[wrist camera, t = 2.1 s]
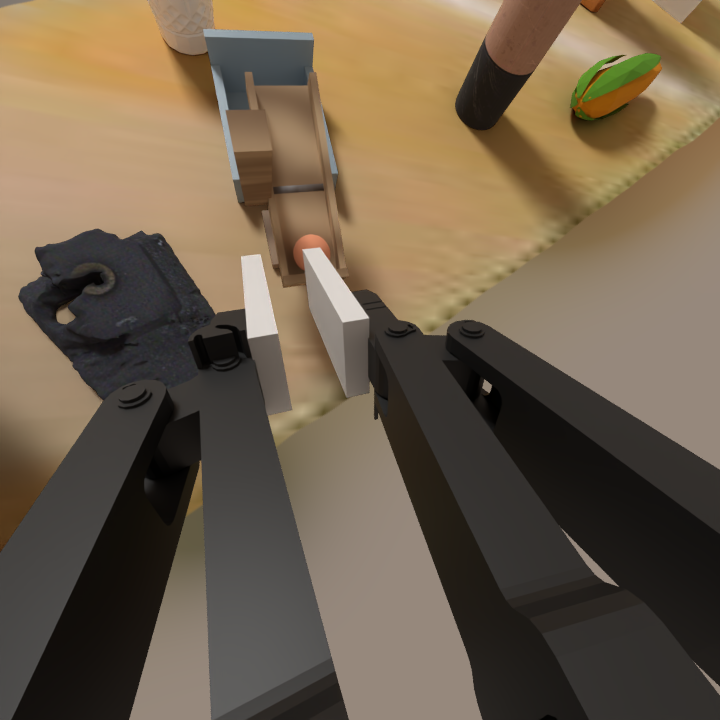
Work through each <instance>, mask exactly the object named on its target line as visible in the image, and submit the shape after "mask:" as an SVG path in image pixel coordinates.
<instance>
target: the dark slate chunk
mask: <svg viewBox="0 0 720 720" xmlns="http://www.w3.org/2000/svg"><path fill="white" fill-rule="evenodd" d="M35 254H36V257H37V260H38V261H39V263H40V265H41V268H42V272H41V275H42V277H39V278H38V279H37V280H36V281H34V282H31V283H29V284H28V285H27V286H25V287H23V288H21V290H20V293H19V296H18V297H19V300H20V302H21V303H23V306H24V309H25V311H26V312H27V314H28V315H29V316H30V317H32V318H33V319H34V321H35V322H36V323H37V324H38V325H39V327H40V328H41V329H42V331H43V332H44V333H45V334H46V335H47V336H48V337H49V338H50V339H51V340H52V341H53V342H54V343H55V344H56V345H57V346H58V347H59V349H60V350H61V351H62V352H63V353H64V354H65V355H67V356H68V357H69V359H70V361H72V362H73V368H74V369H75V370H77V371H78V372H79V374H80V376H81V378H82V379H83V380H84V381H85V382H86V384H87V385H89V386H90V387H92V388H93V389H94V390H96V392H97V394H98V396H100V397H101V398H102V399H103V400H105V399H106V398H107V397H108V396H109V395H110V394H111V393H112V392H114V391H116V390H117V389H119V388H120V387H122V386H124V385H126V384H129V383H132V382H136V381H141V380H157V381H160V382H162V383H163V384H164V385H165V387H166V388H167V389H170V388H172V387H175V386H178V385H180V384H183V383H185V382H187V381H189V380H191V379H193V378H194V377H196V376H197V375H198V368H197V365H196V363H195V360H194V357H193V355H192V352H191V349H190V347H189V344H188V339H189V337H190V335H192V334H193V333H194V332H195V331H196V330H198V329H200V328H202V327H204V326H207V325H210V324H211V320H212V319H213V318H214V317H215V313H214V311H213V309H212V307H210V305H209V304H208V301H207V300H206V299H205V298H204V297H203V295H201V293H200V290H199V289H198V288H197V286H196V285H195V283H194V281H193V280H192V279H191V277H190V276H189V275H188V273H187V271H186V270H185V268H184V267H183V266H182V264H181V263H180V262H179V260H178V258H177V257H176V255H175V254H174V252H173V250H172V248H171V247H170V245H169V244H168V243H167V242H166V240H165V238H164V237H163V236H162V235H161V234H159V233H156V234H153V235H146V234H145V233H144V232H143V231H140V232H138V233H136V234H134V235H132V236H130V237H128V238H125V239H119V238H118V237H117V236H116V235H115V234H110V233H106V232H104V231H102V230H100V229H94V230H90V231H86V232H83V233H81V234H79V235H77V236H75V237H73V238H71V239H69V240H67V241H64V242H61V243H57V244H47V245H46V246H44V247H36V248H35ZM73 299H75V300H74V301H72V302H71V303H70V304H69V305H68V309H69V310H70V311H71V312H72V313H73V314H74V315H75V316H76V318H75V319H74V320H73V321H71V322H69V323H68V324H67V325H66V324H60V323H59V322H58V321H57V319H56V311H57V310H58V309H59V307H60V306H62V305H64V304H67V302H69V301H71V300H73Z"/></svg>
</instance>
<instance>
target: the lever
mask: <svg viewBox="0 0 720 720" xmlns="http://www.w3.org/2000/svg"><path fill="white" fill-rule="evenodd" d="M245 82H246V92H247V97H248V103H249V108H250V110H225V111H226V116H227V121H228V126H229V131H230V136H231V141H232V146H233V151H234V156H235V161H236V165H237V170H238V174H239V179H240V184H241V188H242V193H243V197H244V202H245V206H254V205H267V204H268V209H269V215H270V220H271V225H272V231H273V236H274V241H275V247H276V252H277V257H278V263H279V268H280V273H281V279H282V284H283V288H285V287H292V286H299V285H306V276H305V271H304V270H302V269H301V268H300V267H299V266H298V265H297V264H296V262H295V260H294V255H293V250H294V246H295V244H296V242H297V241H298V240H299V239H300V238H301V237H303V236H305V235H309V234H313V235H317V236H320V237H321V238H323V239H324V240H325V241H326V242H327V244H328V246H329V248H330V260H329V261H330V262H331V264H332V265H333V267H334V268H335V270H336V271H337V272H338V274H339V275H340V277H341V278H342V279H344V278H346V277H348V276H349V272H348V268H346V263H345V256H344V250H343V243H342V237H341V230H340V224H339V217H338V211H337V204H336V198H335V186H334V182H333V178H332V172H331V165H330V159H329V153H328V146H327V140H326V133H325V127H324V120H323V114H322V107H321V101H320V94H319V88H318V81H317V75H316V72H309V78H308V84H307V86H254V81H253V76H252V72H245Z"/></svg>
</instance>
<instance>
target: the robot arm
mask: <svg viewBox="0 0 720 720" xmlns="http://www.w3.org/2000/svg"><path fill="white" fill-rule="evenodd" d="M302 251H303V259H304V268H305V276H306V285H307V293H308V302H309V308H310V311H311V313H312V316H313V318H314V320H315V323H316V325H317V328H318V330H319V332H320V335H321V337H322V340H323V342H324V344H325V347H326V349H327V352H328V354H329V356H330V359H331V361H332V364H333V366H334V368H335V371H336V373H337V376H338V378H339V380H340V383H341V385H342V388H343V390H344V392H345V395H346V397H347V398H348V397H353V396H357V395H362V394H366V393H369V379H370V381H371V383H372V385H373V387H374V419H375V420H376V419H378V413H379V415H380V418H381V420H382V423H383V426H384V428H385V431H386V434H387V437H388V440H389V442H390V445H391V448H392V450H393V453H394V456H395V458H396V461H397V464H398V466H399V469H400V472H401V474H402V477H403V480H404V483H405V486H406V488H407V491H408V494H409V497H410V499H411V502H412V505H413V507H414V510H415V513H416V516H417V518H418V521H419V524H420V526H421V529H422V532H423V535H424V537H425V540H426V542H427V545H428V548H429V551H430V554H431V556H432V559H433V562H434V564H435V567H436V570H437V573H438V575H439V578H440V580H441V583H442V586H443V589H444V592H445V594H446V597H447V600H448V602H449V605H450V608H451V610H452V613H453V616H454V619H455V621H456V624H457V627H458V629H459V632H460V635H461V638H462V640H463V643H464V646H465V648H466V651H467V654H468V657H469V661H470V665H471V668H472V675H473V683H474V690H475V694H476V698H477V703H478V706H479V710H480V713H481V716H482V719H483V720H720V695H719V694H718V693H717V691H716V690H715V689H714V687H713V686H712V685H711V684H710V682H709V681H708V680H707V678H706V677H705V676H704V675H703V673H702V672H701V671H700V669H699V668H698V667H697V666H696V665H695V663H696V664H697V665H698V666H699V667H700V668H701V669H702V670H704V672H705V673H706V674H707V675H708V676H709V677H710V678H712V679H713V680H714V681H715V682H716V683H717V684H718V685H719V686H720V470H719V469H717V468H716V467H714V466H713V465H711V464H710V463H708V462H706V461H705V460H703V459H702V458H700V457H698V456H697V455H695V454H694V453H692V452H690V451H689V450H687V449H685V448H684V447H682V446H681V445H679V444H678V443H676V442H674V441H672V440H671V439H669V438H668V437H666V436H664V435H663V434H661V433H660V432H658V431H657V430H655V429H653V428H652V427H650V426H649V425H647V424H645V423H644V422H642V421H641V420H639V419H637V418H636V417H634V416H633V415H631V414H629V413H628V412H626V411H624V410H623V409H621V408H620V407H618V406H616V405H615V404H613V403H611V402H610V401H608V400H607V399H605V398H604V397H602V396H600V395H599V394H597V393H595V392H594V391H592V390H591V389H589V388H587V387H586V386H584V385H583V384H581V383H580V382H578V381H576V380H575V379H573V378H571V377H570V376H568V375H567V374H565V373H563V372H562V371H560V370H559V369H557V368H555V367H554V366H552V365H551V364H549V363H547V362H546V361H544V360H542V359H541V358H539V357H538V356H536V355H535V354H533V353H531V352H530V351H528V350H526V349H525V348H523V347H521V346H520V345H518V344H517V343H515V342H513V341H512V340H510V339H509V338H507V337H506V336H504V335H502V334H501V333H499V332H497V331H496V330H494V329H493V328H491V327H490V326H488V325H485V324H483V323H480V322H476V321H474V320H462V321H457V322H454V323H452V324H450V326H449V327H448V329H447V336H439V335H435V336H434V335H433V336H432V335H423V333H422V332H421V330H420V329H419V328H418V327H417V326H416V325H415V324H412V323H410V322H407V321H401V320H398V319H397V318H396V317H395V316H394V315H393V313H392V312H391V311H390V310H389V309H388V307H386V305H385V304H384V303H383V302H382V300H381V299H380V298H379V297H378V295H377V294H375V293H373V292H371V291H369V290H361V291H354V292H351V291H350V290H349V288H348V287H347V285H346V284H345V283H344V281H343V280H342V278H341V277H340V275H339V274H338V272H337V271H336V270H335V268H334V267H333V265H332V264H331V262H330V261H329V260H328V258H327V257H326V255H325V254H324V252H323V251H322V250H321V248H320V247H319V248H311V249H302ZM241 261H242V274H243V287H244V299H245V309H240V310H233V311H226V312H219V313H217V314H216V315H215V317H214V318H213V319H212V320H211V324H210V325H207V326H204V327H202V328H200V329H198V330H196V331H195V332H194V333H193V334H192V335H190V337H189V339H188V344H189V347H190V349H191V352H192V355H193V357H194V360H195V363H196V365H197V368H198V375H197V376H196V377H194V378H193V379H191V380H189V381H187V382H185V383H183V384H180V385H178V386H175V387H172V388H170V389H167V388H166V387H165V385H164V384H163V383H162V382H160V381H157V380H141V381H136V382H132V383H129V384H126V385H124V386H122V387H120V388H119V389H117V390H116V391H114V392H112V393H111V394H110V395H109V396H108V397H107V398H106V399H105V400H104V401H103V402H102V404H101V405H100V407H99V408H98V410H97V411H96V413H95V414H94V416H93V417H92V419H91V420H90V422H89V423H88V424H87V426H86V427H85V429H84V430H83V432H82V433H81V435H80V436H79V438H78V439H77V441H76V442H75V444H74V445H73V447H72V448H71V449H70V451H69V452H68V454H67V455H66V457H65V458H64V460H63V461H62V463H61V464H60V466H59V467H58V469H57V470H56V472H55V473H54V474H53V476H52V477H51V479H50V480H49V482H48V483H47V485H46V486H45V488H44V489H43V491H42V492H41V494H40V495H39V497H38V498H37V500H36V501H35V502H34V504H33V505H32V507H31V508H30V510H29V511H28V513H27V514H26V516H25V517H24V519H23V520H22V522H21V523H20V525H19V526H18V527H17V529H16V530H15V532H14V533H13V535H12V536H11V538H10V539H9V541H8V542H7V544H6V545H5V547H4V548H3V550H2V551H1V552H0V720H129V718H130V714H131V711H132V707H133V704H134V700H135V696H136V693H137V689H138V686H139V682H140V678H141V675H142V671H143V668H144V664H145V660H146V657H147V653H148V649H149V646H150V642H151V639H152V635H153V632H154V628H155V624H156V621H157V617H158V613H159V610H160V606H161V603H162V599H163V595H164V592H165V588H166V585H167V581H168V578H169V574H170V570H171V567H172V563H173V559H174V556H175V552H176V548H177V545H178V541H179V538H180V534H181V531H182V527H183V523H184V520H185V516H186V513H187V509H188V505H189V502H190V498H191V495H192V491H193V487H194V484H195V480H196V477H197V473H198V469H199V461H200V460H201V461H202V488H203V513H204V540H205V567H206V594H207V618H208V620H207V621H208V644H209V645H208V647H209V673H210V700H211V720H349V719H348V715H347V712H346V708H345V704H344V700H343V697H342V693H341V690H340V686H339V683H338V679H337V676H336V672H335V669H334V664H333V661H332V657H331V653H330V650H329V646H328V642H327V638H326V634H325V631H324V627H323V623H322V620H321V616H320V612H319V608H318V604H317V601H316V597H315V593H314V589H313V586H312V582H311V578H310V574H309V571H308V567H307V563H306V559H305V555H304V552H303V548H302V544H301V540H300V537H299V533H298V529H297V525H296V522H295V518H294V514H293V510H292V507H291V503H290V499H289V495H288V492H287V488H286V484H285V481H284V476H283V473H282V469H281V465H280V462H279V458H278V454H277V450H276V446H275V443H274V439H273V435H272V431H271V428H270V424H269V420H268V415H272V414H277V413H281V412H286V411H290V410H292V406H291V401H290V396H289V390H288V385H287V380H286V374H285V369H284V364H283V358H282V353H281V348H280V342H279V337H278V332H277V327H276V323H275V318H274V314H273V309H272V305H271V300H270V296H269V291H268V287H267V282H266V278H265V273H264V268H263V264H262V259H261V255H260V254H257V255H249V256H241ZM484 379H485V380H486V381H488V382H489V383H490V384H491V385H492V388H491V391H490V393H488V392H487V391H485V390H484V389H483V388H482V386H483V383H484ZM560 527H561V528H562V529H563V530H564V531H565V532H566V533H567V534H568V535H569V536H570V537H571V538H572V539H573V540H574V541H575V542H576V543H577V544H578V545H579V546H580V547H581V548H582V549H583V550H584V551H585V552H586V553H587V554H588V555H589V556H590V557H591V558H592V559H593V560H594V561H595V562H596V563H597V564H598V565H599V566H600V567H601V568H602V570H603V571H605V573H606V574H607V575H609V577H610V578H611V579H612V580H613V581H614V582H615V583H616V584H617V585H618V586H619V587H617V586H615V585H611V584H609V583H605V582H604V581H602V580H601V579H600V578H598V577H597V576H596V575H594V573H593V572H592V571H591V569H590V568H589V567H588V566H587V565H586V563H585V562H584V560H583V559H582V558H581V556H580V555H579V554H578V552H577V551H576V549H575V548H574V546H573V545H572V544H571V542H570V541H569V539H568V538H567V536H566V535H565V533H564V532H563V531H562V529H561V528H560ZM693 661H694V662H695V663H694V662H693Z"/></svg>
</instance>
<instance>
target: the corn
mask: <svg viewBox="0 0 720 720" xmlns="http://www.w3.org/2000/svg"><path fill="white" fill-rule="evenodd" d="M623 56H625V55H620V56H614V57H610V58H607V59H604V60H601V61H599V62H598V63H597V64H595V65H594V66H593V67H592V68H590V69H589V70H588V71H587V72H585V73H584V74H583V75H582V76H581V78H580V79H579V81H578V84H577V87H576V89H575V90H574V92H573V94H572V98H571V107H570V108H573V109H574V110H575V111H576V113H575V115H576V116H577V117H579V118H582V119H585V120H589V121H591V120H597V119H603V118H605V117H608V116H610V115H613V114H615V113H617V112H619V111H620V110H622V109H623V108H625V107H626V106H627V105H628V104H625V103H627V102H629V101H630V100H632V99H634V98H635V97H637V96H638V95H639V94H641V93H642V92H643V91H644V90H646V88H647V87H648V86H649V85H650V84H651V83H652V81H653V80H654V79H655V78H656V76H657V75H658V74H659V72H660V71H661V70H662V67H661V64H660V59H661V56H659V55H656V54H650V53H645V54H642V55H638V56H635V57H632V58H630V59H628V60H625V61H623V62H621V63H619V64H616V65H614V66H611V67H608V68H605V69H602V70H599V69H600V68H601V67H602V66H603V65H604V64H607V63H612V62H614V61H616V60H618V59H619V58H621V57H623ZM598 70H599V71H598ZM597 71H598V72H597Z"/></svg>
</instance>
